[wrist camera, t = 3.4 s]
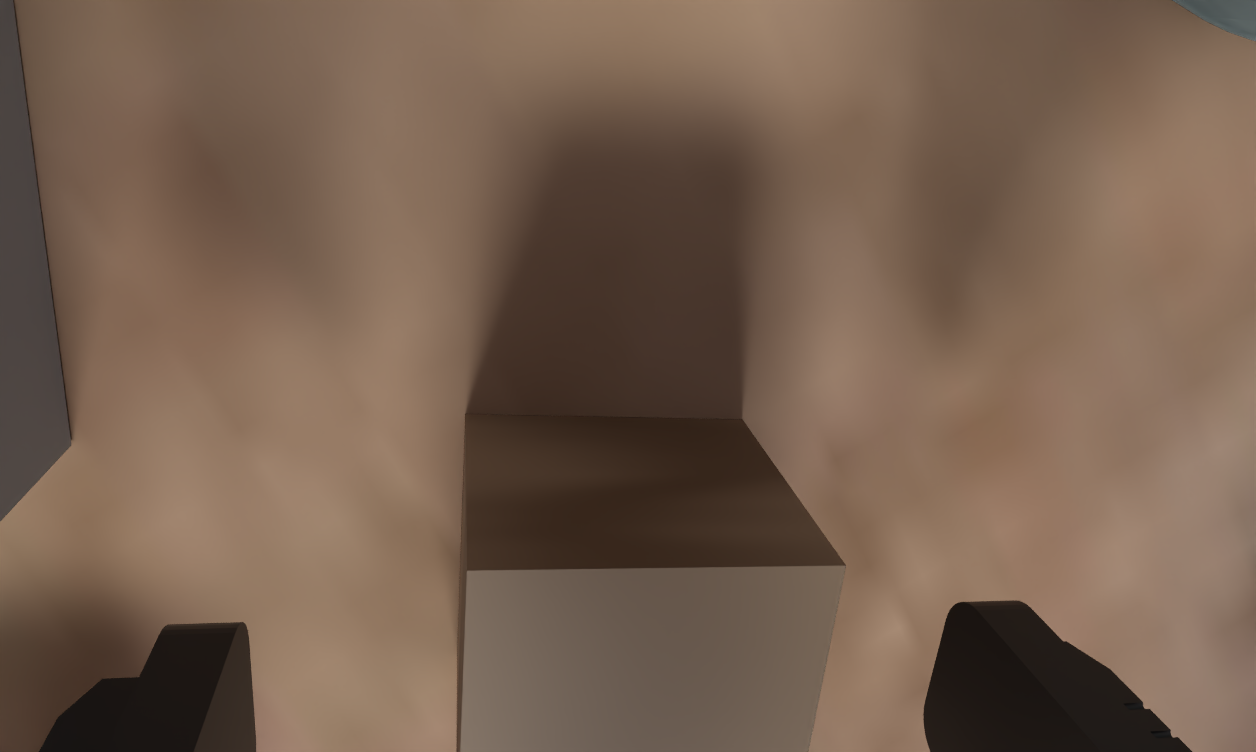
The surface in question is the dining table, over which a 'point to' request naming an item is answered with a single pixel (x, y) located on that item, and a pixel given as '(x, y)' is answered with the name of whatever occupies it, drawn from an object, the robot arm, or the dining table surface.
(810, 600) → the walnut block
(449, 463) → the dining table surface
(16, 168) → the tray
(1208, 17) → the blue-grey cup
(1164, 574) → the dining table surface
